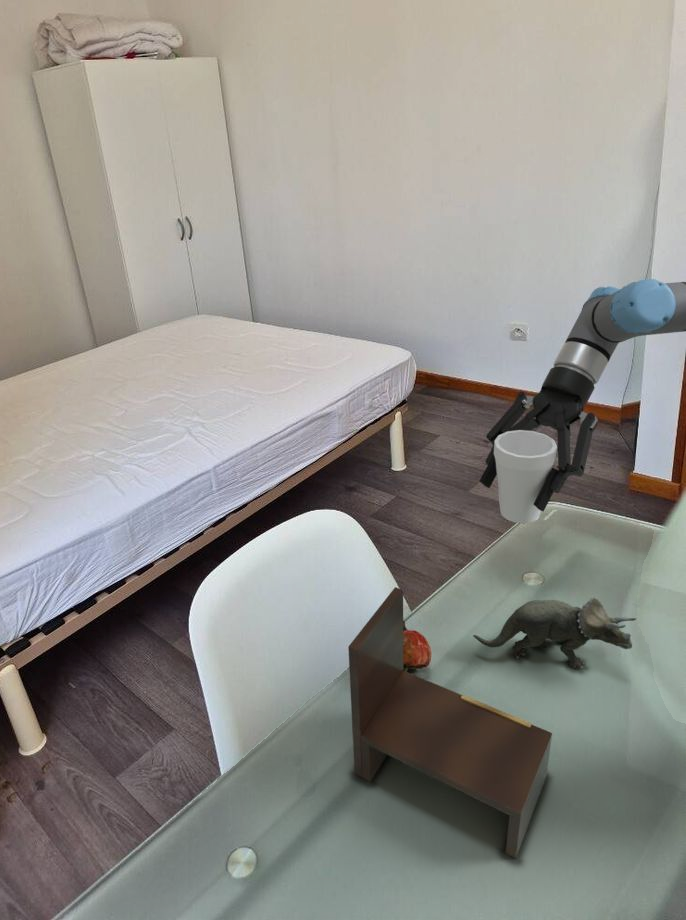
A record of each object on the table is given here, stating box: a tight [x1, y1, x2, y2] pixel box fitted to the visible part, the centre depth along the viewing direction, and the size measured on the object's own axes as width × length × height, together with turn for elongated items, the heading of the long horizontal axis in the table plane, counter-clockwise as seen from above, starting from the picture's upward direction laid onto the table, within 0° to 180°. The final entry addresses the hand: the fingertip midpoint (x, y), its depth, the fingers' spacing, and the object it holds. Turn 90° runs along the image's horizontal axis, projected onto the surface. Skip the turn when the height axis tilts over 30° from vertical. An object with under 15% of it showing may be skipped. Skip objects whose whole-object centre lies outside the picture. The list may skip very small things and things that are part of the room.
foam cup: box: [494, 430, 558, 525], centre depth 111 cm, size 10×9×13 cm
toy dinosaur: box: [472, 596, 637, 669], centre depth 103 cm, size 22×8×11 cm, turn 73°
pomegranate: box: [403, 620, 432, 672], centre depth 103 cm, size 7×7×10 cm
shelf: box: [348, 586, 553, 860], centre depth 83 cm, size 21×12×22 cm, turn 57°
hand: (510, 496), depth 110 cm, fingers closed on foam cup, 9 cm apart
